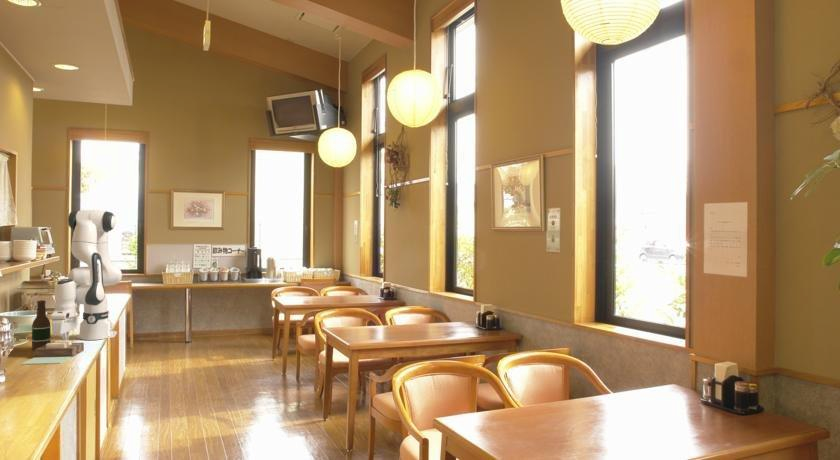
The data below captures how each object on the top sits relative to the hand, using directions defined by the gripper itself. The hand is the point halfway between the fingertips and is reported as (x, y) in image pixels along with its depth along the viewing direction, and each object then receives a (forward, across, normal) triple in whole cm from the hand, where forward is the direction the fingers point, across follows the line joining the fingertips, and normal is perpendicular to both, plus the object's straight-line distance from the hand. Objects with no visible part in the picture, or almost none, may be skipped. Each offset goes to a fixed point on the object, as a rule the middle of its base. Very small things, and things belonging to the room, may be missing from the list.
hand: (65, 341), depth 288 cm
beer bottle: (+5, -8, -14) cm, 17 cm away
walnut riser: (+5, +6, 0) cm, 8 cm away
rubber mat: (+5, +19, 0) cm, 20 cm away
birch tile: (+1, +7, 0) cm, 7 cm away
